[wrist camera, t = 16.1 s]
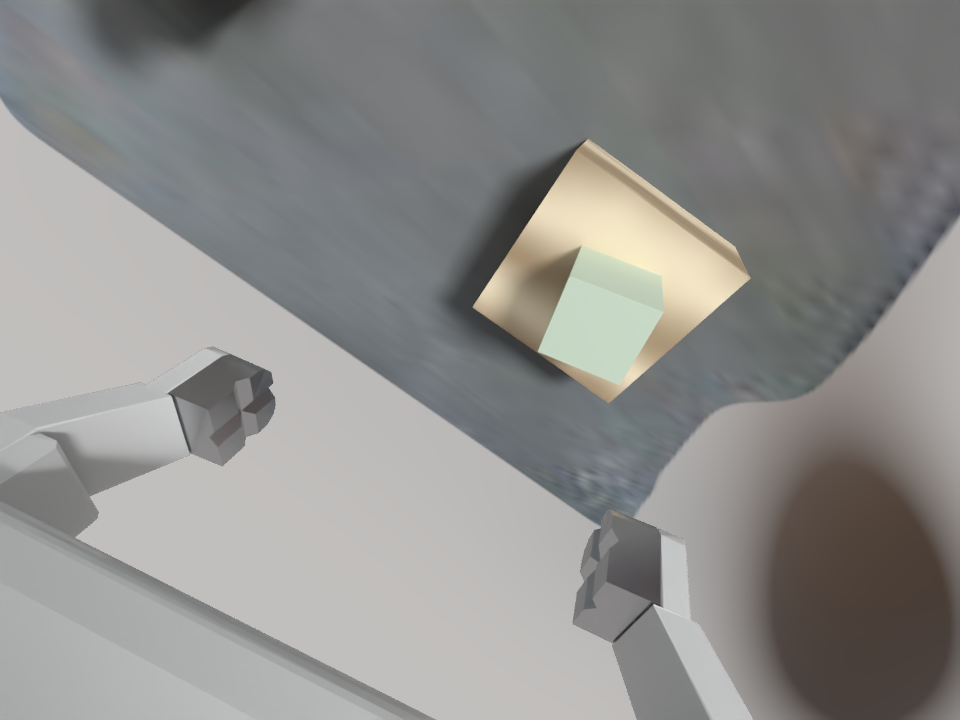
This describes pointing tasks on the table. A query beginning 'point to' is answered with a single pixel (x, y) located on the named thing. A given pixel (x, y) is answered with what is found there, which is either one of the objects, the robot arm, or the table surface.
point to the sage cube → (603, 315)
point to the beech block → (619, 234)
